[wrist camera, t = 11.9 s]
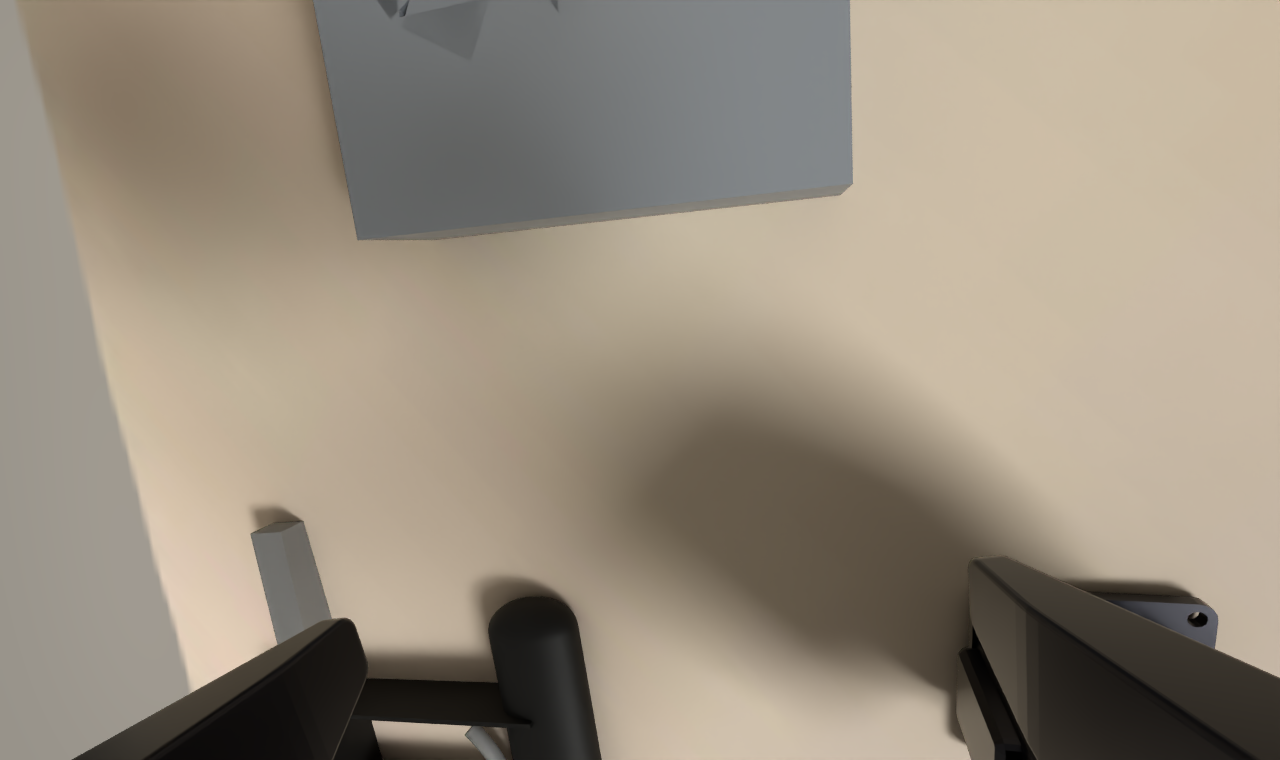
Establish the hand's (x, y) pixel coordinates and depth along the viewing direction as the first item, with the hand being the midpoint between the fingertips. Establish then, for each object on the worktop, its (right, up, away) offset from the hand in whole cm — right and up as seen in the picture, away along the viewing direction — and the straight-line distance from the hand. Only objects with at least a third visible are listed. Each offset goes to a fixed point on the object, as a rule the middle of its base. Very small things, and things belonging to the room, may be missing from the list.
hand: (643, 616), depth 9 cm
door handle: (-11, -10, +19) cm, 24 cm away
